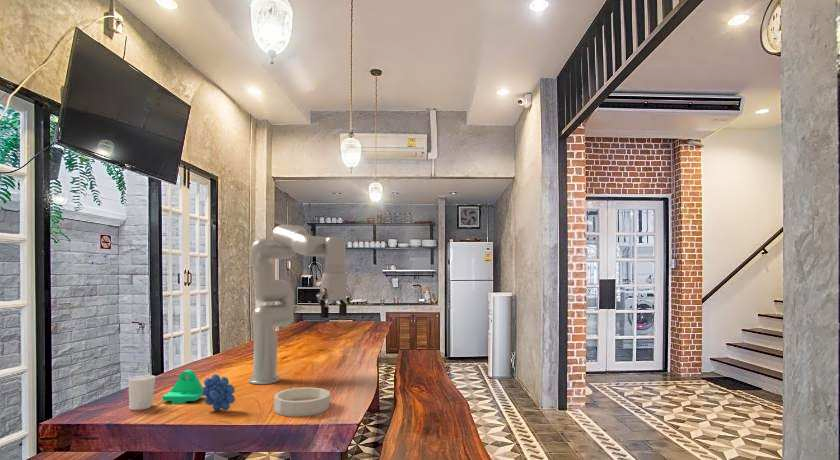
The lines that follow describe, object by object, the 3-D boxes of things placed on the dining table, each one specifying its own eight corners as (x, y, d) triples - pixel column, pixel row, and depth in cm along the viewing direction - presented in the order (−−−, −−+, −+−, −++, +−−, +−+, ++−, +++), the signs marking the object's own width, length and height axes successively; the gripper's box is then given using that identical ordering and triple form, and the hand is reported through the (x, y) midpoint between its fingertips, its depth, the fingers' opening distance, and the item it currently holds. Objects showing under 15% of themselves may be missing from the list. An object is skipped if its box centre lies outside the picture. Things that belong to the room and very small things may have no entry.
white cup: (134, 412, 158) (136, 381, 159) (122, 408, 163) (124, 378, 163) (158, 406, 165) (159, 376, 166) (146, 402, 169) (147, 374, 170)
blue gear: (194, 414, 157) (195, 377, 158) (204, 408, 164) (205, 372, 165) (228, 415, 156) (229, 377, 157) (237, 409, 163) (238, 373, 164)
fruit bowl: (276, 402, 171) (276, 388, 172) (328, 399, 175) (328, 386, 176) (272, 418, 153) (272, 403, 154) (330, 414, 157) (330, 400, 158)
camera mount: (161, 404, 168) (162, 374, 169) (171, 397, 176) (172, 369, 177) (195, 404, 169) (196, 374, 170) (204, 397, 176) (205, 369, 177)
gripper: (342, 269, 186) (341, 314, 185) (310, 270, 172) (309, 318, 171) (357, 270, 182) (356, 315, 181) (326, 270, 168) (324, 319, 167)
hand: (333, 316), depth 176 cm, fingers open, 9 cm apart
